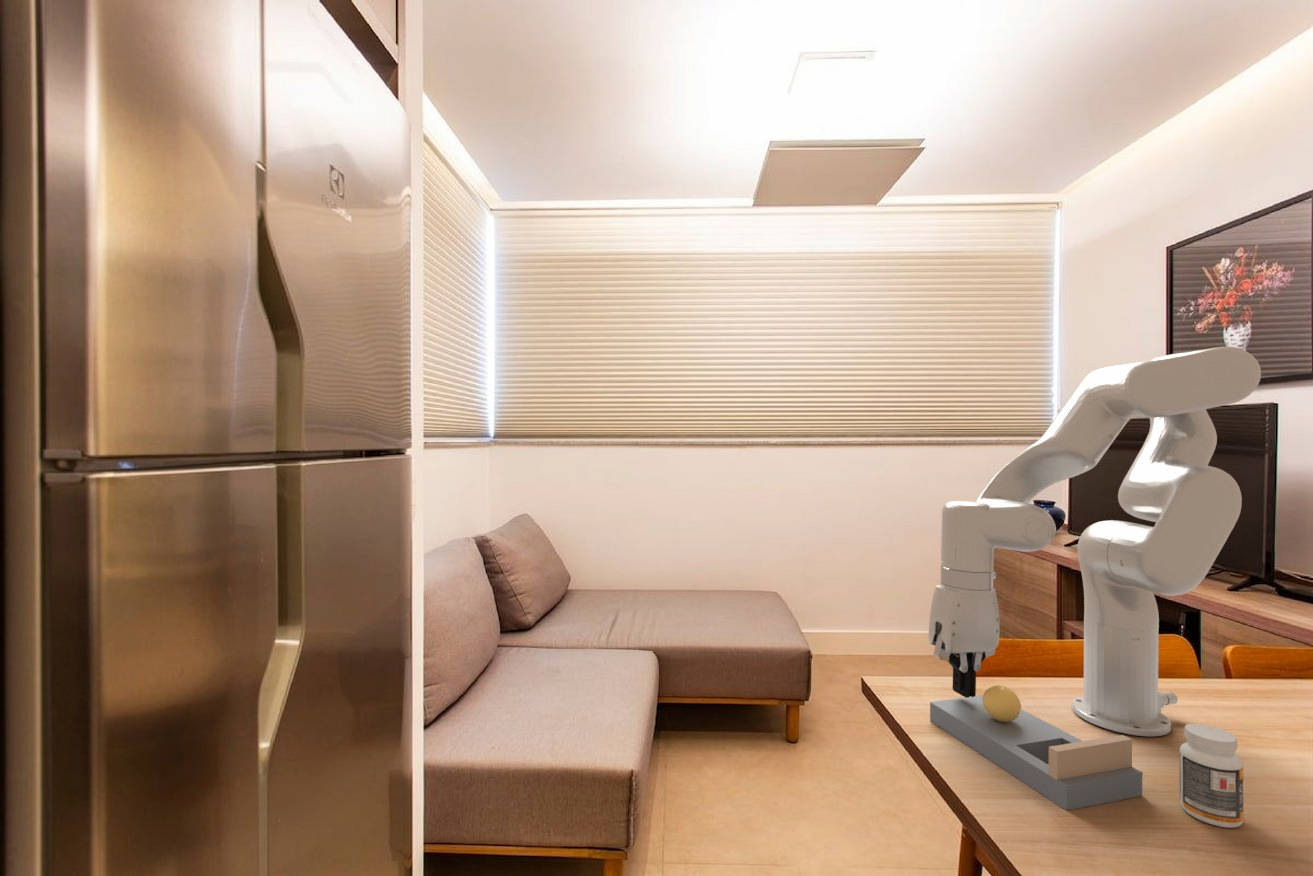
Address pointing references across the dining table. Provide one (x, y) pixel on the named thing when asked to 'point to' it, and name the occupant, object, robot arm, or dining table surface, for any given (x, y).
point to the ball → (1001, 703)
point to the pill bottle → (1211, 776)
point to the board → (1044, 754)
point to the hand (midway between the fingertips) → (963, 693)
